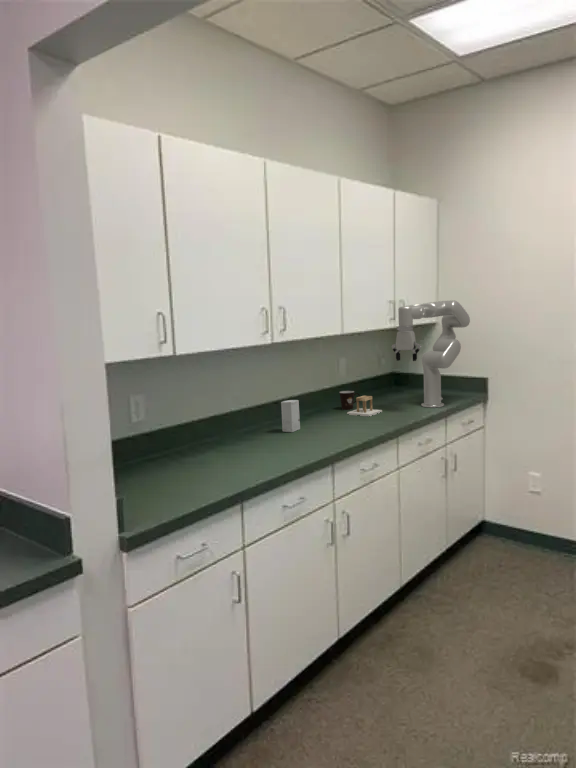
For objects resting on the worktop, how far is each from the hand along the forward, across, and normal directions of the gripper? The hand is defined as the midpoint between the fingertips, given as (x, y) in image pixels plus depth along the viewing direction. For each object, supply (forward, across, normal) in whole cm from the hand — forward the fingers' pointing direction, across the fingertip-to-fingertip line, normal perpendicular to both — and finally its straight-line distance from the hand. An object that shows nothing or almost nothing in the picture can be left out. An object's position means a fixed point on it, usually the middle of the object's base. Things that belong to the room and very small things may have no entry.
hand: (406, 360), depth 321 cm
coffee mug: (+28, -34, -5) cm, 45 cm away
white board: (+28, -19, -14) cm, 37 cm away
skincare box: (+28, -29, -68) cm, 79 cm away
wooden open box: (+27, -19, -14) cm, 36 cm away
